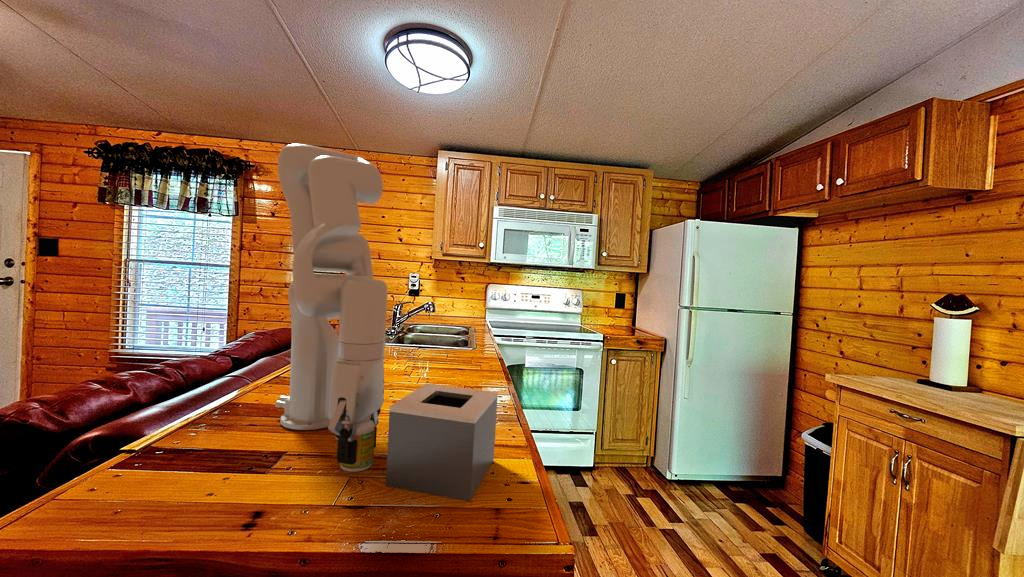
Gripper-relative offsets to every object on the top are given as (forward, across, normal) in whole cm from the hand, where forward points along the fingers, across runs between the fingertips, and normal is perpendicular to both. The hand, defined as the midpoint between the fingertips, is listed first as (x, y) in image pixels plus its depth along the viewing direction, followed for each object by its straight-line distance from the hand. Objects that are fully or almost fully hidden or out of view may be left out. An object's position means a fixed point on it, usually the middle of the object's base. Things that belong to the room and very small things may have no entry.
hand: (357, 453), depth 72 cm
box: (+2, -2, +15) cm, 15 cm away
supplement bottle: (+2, 0, 0) cm, 2 cm away
